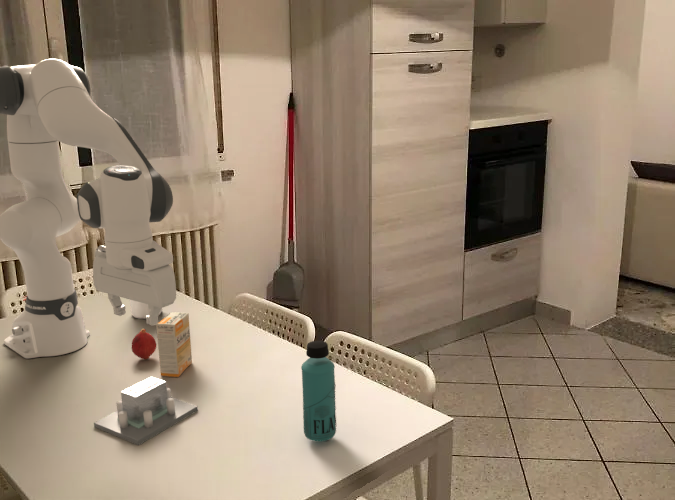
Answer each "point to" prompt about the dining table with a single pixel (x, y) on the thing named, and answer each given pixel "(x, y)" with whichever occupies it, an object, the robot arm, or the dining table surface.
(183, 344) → the supplement box
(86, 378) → the dining table surface
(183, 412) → the pin tray
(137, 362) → the dining table surface
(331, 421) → the beverage bottle
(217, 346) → the dining table surface
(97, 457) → the dining table surface
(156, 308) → the robot arm
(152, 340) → the onion
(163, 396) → the block
